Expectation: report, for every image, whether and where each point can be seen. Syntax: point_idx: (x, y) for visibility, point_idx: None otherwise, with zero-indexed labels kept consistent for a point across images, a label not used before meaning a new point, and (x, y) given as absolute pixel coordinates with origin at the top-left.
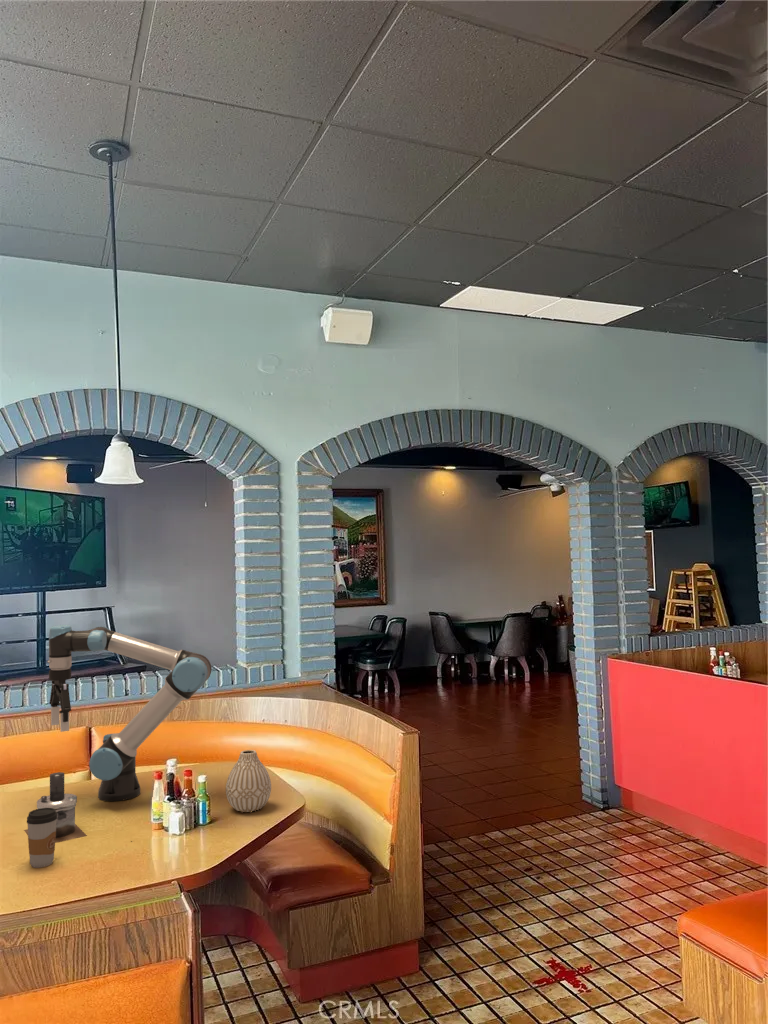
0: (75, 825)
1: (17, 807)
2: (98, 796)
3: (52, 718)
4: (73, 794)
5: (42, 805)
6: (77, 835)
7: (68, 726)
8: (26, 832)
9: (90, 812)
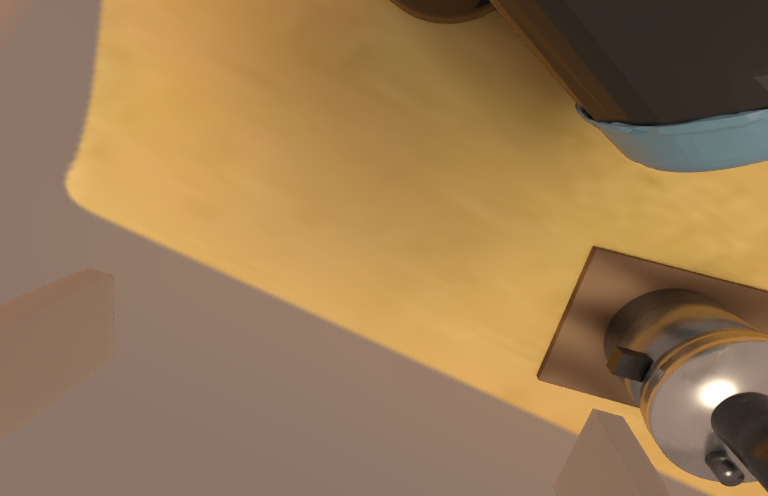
0: (665, 270)
1: (275, 269)
2: (418, 16)
3: (30, 410)
4: (762, 345)
5: (748, 479)
6: (766, 319)
7: (650, 473)
8: (568, 386)
9: (554, 141)
